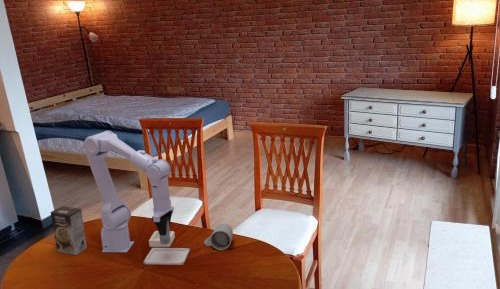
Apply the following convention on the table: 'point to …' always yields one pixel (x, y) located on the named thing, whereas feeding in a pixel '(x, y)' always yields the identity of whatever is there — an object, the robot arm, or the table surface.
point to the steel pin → (165, 236)
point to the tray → (167, 256)
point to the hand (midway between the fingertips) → (164, 232)
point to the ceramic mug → (220, 237)
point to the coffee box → (68, 230)
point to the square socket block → (155, 240)
